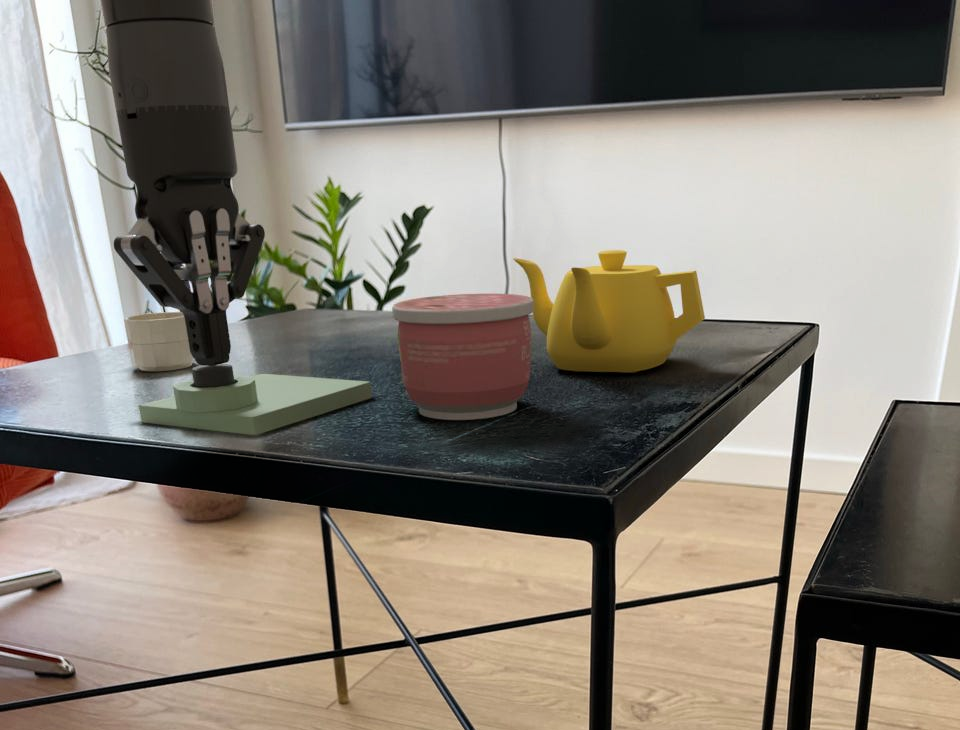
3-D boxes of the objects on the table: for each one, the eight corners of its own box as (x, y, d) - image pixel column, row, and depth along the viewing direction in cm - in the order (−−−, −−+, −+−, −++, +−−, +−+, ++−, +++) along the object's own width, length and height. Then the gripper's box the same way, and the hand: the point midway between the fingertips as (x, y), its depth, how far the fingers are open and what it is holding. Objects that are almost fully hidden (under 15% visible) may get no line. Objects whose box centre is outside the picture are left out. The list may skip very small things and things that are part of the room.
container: (457, 391, 85) (452, 291, 82) (562, 403, 79) (561, 295, 76) (371, 416, 78) (362, 307, 74) (480, 431, 72) (475, 313, 68)
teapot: (514, 363, 97) (511, 252, 93) (640, 349, 101) (642, 242, 96) (575, 386, 85) (574, 260, 81) (714, 369, 89) (720, 249, 85)
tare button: (215, 392, 75) (211, 371, 74) (186, 390, 77) (182, 369, 76) (243, 385, 77) (240, 364, 77) (215, 383, 79) (211, 362, 78)
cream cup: (164, 374, 100) (155, 321, 98) (120, 370, 103) (110, 319, 101) (211, 363, 105) (203, 312, 103) (167, 360, 108) (159, 311, 106)
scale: (251, 437, 73) (245, 395, 72) (137, 424, 79) (129, 385, 78) (372, 398, 84) (369, 361, 83) (264, 389, 90) (259, 354, 89)
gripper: (204, 110, 76) (238, 348, 83) (55, 106, 66) (109, 377, 73) (279, 102, 72) (308, 351, 80) (134, 97, 62) (182, 383, 69)
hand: (212, 363), depth 76 cm, fingers closed
